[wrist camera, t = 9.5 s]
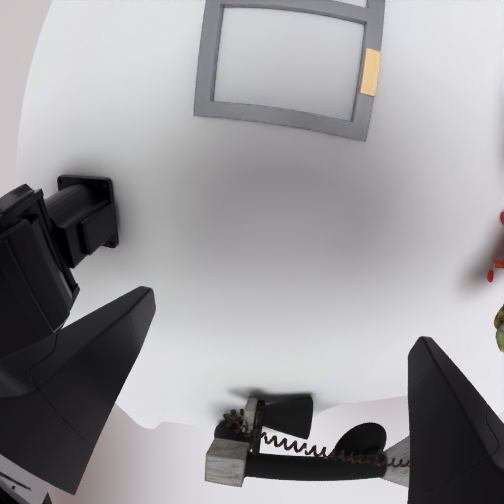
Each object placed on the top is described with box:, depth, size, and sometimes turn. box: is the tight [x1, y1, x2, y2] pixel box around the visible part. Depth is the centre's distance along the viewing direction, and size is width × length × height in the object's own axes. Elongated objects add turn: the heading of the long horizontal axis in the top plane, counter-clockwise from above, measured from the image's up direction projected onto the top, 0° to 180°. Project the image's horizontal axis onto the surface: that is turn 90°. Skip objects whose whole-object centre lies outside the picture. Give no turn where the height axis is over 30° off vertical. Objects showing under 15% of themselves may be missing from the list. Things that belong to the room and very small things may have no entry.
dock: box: [193, 0, 385, 142], centre depth 12 cm, size 11×17×1 cm, turn 174°
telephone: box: [205, 397, 410, 487], centre depth 30 cm, size 15×13×30 cm
